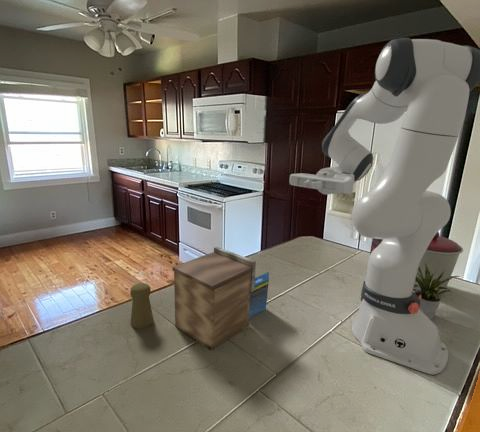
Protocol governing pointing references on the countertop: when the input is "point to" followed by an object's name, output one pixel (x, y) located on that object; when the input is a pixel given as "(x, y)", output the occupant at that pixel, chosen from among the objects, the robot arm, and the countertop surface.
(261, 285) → the label tape box
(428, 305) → the house plant
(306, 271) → the countertop surface
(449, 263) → the canister
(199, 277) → the sliding lid
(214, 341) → the storage box
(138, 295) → the cork
